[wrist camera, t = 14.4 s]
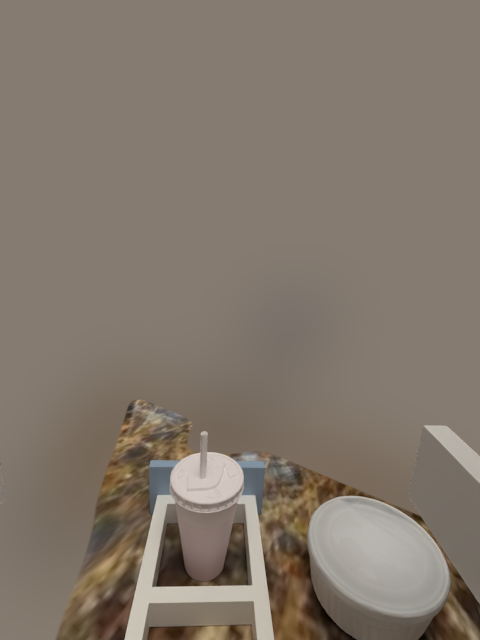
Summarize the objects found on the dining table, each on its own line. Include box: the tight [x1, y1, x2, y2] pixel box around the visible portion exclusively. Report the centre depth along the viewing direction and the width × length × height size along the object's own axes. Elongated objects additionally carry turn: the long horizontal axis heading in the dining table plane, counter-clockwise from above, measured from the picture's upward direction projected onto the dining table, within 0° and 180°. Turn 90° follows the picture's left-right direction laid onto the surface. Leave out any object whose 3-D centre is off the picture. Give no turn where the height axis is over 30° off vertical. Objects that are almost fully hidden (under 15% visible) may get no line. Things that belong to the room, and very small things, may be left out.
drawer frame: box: [124, 460, 274, 640], centre depth 28 cm, size 12×20×6 cm, turn 3°
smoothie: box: [170, 432, 244, 581], centre depth 30 cm, size 6×6×14 cm
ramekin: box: [307, 496, 450, 640], centre depth 30 cm, size 11×11×5 cm
